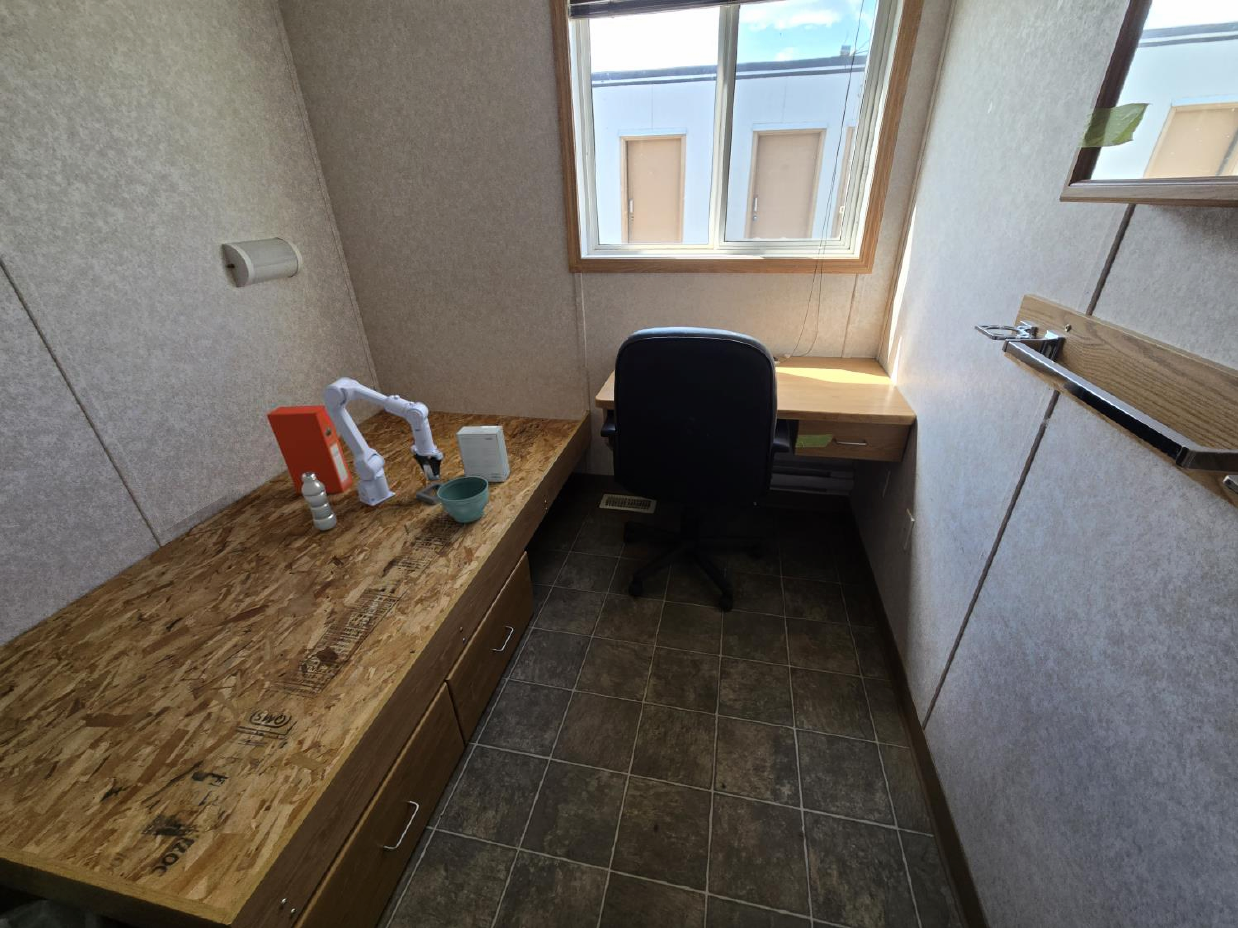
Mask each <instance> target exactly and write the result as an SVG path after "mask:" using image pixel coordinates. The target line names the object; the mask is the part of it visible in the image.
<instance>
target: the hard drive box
mask: <svg viewBox="0 0 1238 928" xmlns="http://www.w3.org/2000/svg"><path fill="white" fill-rule="evenodd" d="M455 435H456V439H457V443H458V444H457V445H458V449H459V454H460V458H461V463H462V467H463V471H464V477H469V476H475V477H481V478H484V479H485V480H486V481H487V482H488V483H489V482H492V483H496V482H497V483H498V482H499V483H500V482H503V483H504V482H506V481H507V478H508V477H509V475H510V474H511V470H510V465H509V458H508V454H507V453H508V452H507V448H506V442H505V436H504V431H503V426H502V425H480V426H473V425H472V426H463V427H461V429H459V430H458V432H457V433H456V434H455Z"/></svg>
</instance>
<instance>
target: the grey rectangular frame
mask: <svg viewBox="0 0 1238 928" xmlns="http://www.w3.org/2000/svg"><path fill="white" fill-rule="evenodd" d="M444 484H445V483H444V482H440V481H439V480H437V481H434V482H433V483H432V484H430V485H428V486H426V487H425V488H423V489H421V490H419V491H417V492H415V493H414V494H415V498H416V499H417V500H420V501H423V502H426V503H428V504H431V505H433V506H436V505H438V504H439V503H441V501H440V499H439V497H438V494H437V495H436V496H433V495H429V494H432V493H433V492H435V491H436V490H437V491H438V490H439V488H440V487H441V486H442V485H444Z"/></svg>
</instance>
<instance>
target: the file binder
mask: <svg viewBox="0 0 1238 928" xmlns="http://www.w3.org/2000/svg"><path fill="white" fill-rule="evenodd" d="M266 416H267V417H266V418H267V420H268V422H269V425H270V427H271V429H272V432H273V435H274V437H275V440H276V442H277V445H278V447H279V450H280V452H281V456H282V457H283V459H284V462H285V465H286V467H287V470H288V473H289V475H290V477H291V480H292V482H293V484H294V487H295V490H296V491H297V494H299V495H300V494H302V486H303V484H304V482H303V480H302V474H304V473H307V472H314V473H315V476H316V480H318V481H320V482H321V483H322V484H323V485H324V486H325V491H326V494H329V493H330V494H334V493H344V492H345V491H346V490H347V489H348V488H349V487H351V485H353V482H354V481H353V477H352V474H351V472H350V469H349V466H348V463H347V459H346V457H345V454H344V451H343V447H342V444H341V442H340V439H339V436H338V433H337V430H336V426H335V425H334V423H333V421H332V420H331V418H330V417H329V415H328V414H327V412H326V410H325V404H324V405H321V404H320V405H300V406H299V405H298V406H295V405H294V406H293V405H292V406H279V407H278V408H275V409H274V410H273V411H271V412H269V413H267V414H266ZM302 495H303V494H302Z"/></svg>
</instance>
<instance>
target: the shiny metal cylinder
mask: <svg viewBox="0 0 1238 928" xmlns="http://www.w3.org/2000/svg"><path fill="white" fill-rule="evenodd" d="M423 466H424V471H425V473H424V474H425V475H424V476H425V479H426V481H427V482H437V481H439V480H440V479H442V474H441V473H440V474H439V475H437V476H434V475H433V472H432V469H431V467H430V465H429V464H428V462H427V461H426V462H425V463H423Z"/></svg>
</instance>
